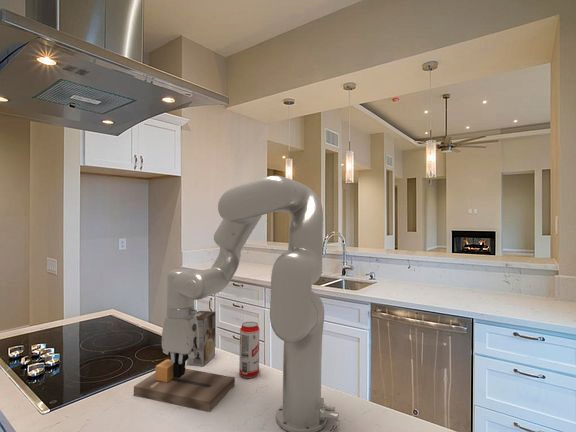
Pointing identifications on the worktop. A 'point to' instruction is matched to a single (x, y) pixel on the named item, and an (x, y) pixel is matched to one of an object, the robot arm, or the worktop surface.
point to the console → (187, 389)
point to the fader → (164, 371)
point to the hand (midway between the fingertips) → (179, 375)
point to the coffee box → (204, 338)
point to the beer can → (249, 350)
